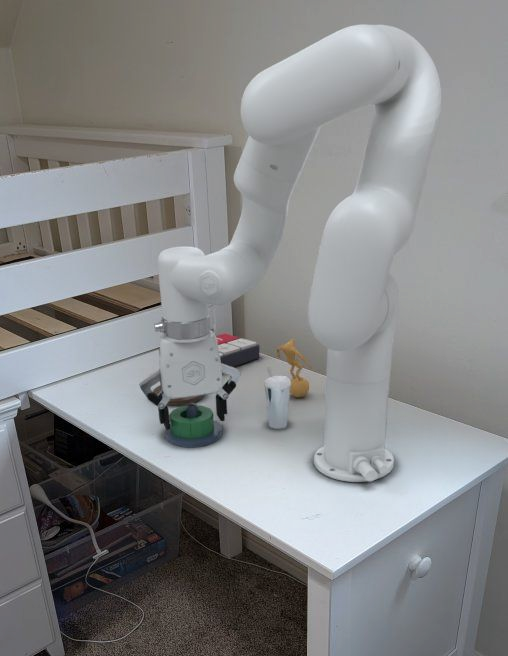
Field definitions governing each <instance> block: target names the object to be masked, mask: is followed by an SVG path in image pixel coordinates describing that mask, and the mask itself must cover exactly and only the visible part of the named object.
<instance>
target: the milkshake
mask: <svg viewBox="0 0 508 656" xmlns="http://www.w3.org/2000/svg"><path fill="white" fill-rule="evenodd" d="M267 369H268V374H269V377H268V378H266V380H265V381H264V392H265V401H266V408H267V409H266V411H267V420H268V427H269V428H271V429H275V430H283V429H284V428H286V427H287V426H288V418H289V406H290V405H289V404H290V396H291V393H290V387H291V379H290V378H288V376H287V375H275V376H273V374H272V369H271V367H270V366H268V367H267Z"/></svg>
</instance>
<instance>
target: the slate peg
mask: <svg viewBox="0 0 508 656" xmlns="http://www.w3.org/2000/svg"><path fill="white" fill-rule="evenodd" d="M197 405H198V404H197V403H196V402H195V403H189V404H188V405H186V406H187V407H186V413H187V418H189V419H192V418H197V417H198V407H197ZM164 429H165V430H164V438H165V440H166V441H167V442H168V443H169V444H171V445H174V446H176V447H180V448H200V447H206V446H209V445H212V444H214V443H216V442H217V441H220V439H221V438H222V436H223V427H222V425H221V423H220V422H219V421H216V420H214V429H213V431H212V432H211V433H210V434H208V435H206V436H204V437H201V438H195V439H186V438H179V437H177V436H175V435H173V434H172V432H171V430H170V429H169V430H166V428H164Z"/></svg>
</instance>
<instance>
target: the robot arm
mask: <svg viewBox="0 0 508 656" xmlns="http://www.w3.org/2000/svg"><path fill="white" fill-rule="evenodd" d="M442 98H443V96H442V86H441V81H440V76H439V73H438V69H437V67H436V65H435V63H434V61H433V59H432V57H431V55H430V53H428V50H426V48H424V46H423V45H422V44H421V42H419V40H417V39H416V38H415V37H413V36H412V35H411V34H410V33H408V32H407V31H405V30H403V29H401V28H398V27H397V26H396V27H395V26H392V25H387V24H366V23H365V24H363V23H361V24H360V23H359V24H355V25H350V26H346V27H343V28H341V29H340V30H337V31H335V32H333V33H331V34H329V35H328V36H325V37H323V38H322V39H320V40H318V41H316V42H315V43H312V44H311V45H308V46H306V47H305V48H303V49H301V50H300V51H297V52H296V53H294V54H292V55H290V56H289V57H287V58H284V59H283V60H281V61H279V62H277V63H275V64H273V65H271V66H269V67H266V68H265V69H263V70H262V71H260V72H259V73H257V74H256V75H255V76H254V77H253V78H252V79H251V80H250V82H249V83H248V84H247V86H246V87H245V90H244V91H243V95H242V97H241V102H240V119H241V122H242V126H243V129H244V130H245V132H246V133H247V135H248V138H247V140H246V142H245V145H244V147H243V150H242V153H241V155H240V158H239V160H238V163H237V166H236V168H235V170H234V173H233V183H234V186H235V187H236V189H237V190H238V191H239V193H240V194H241V197H242V208H241V214H240V218H239V220H238V223H237V225H236V228H235V230H234V232H233V235H232V239H231V240H230V242H229V244H228V245H227V246H225V247H223V248H221V249H219V250H217V251H215V252H212V253H209V254H206V255H205V253H204V252H203V250H202V249H200V248H198V247H195V246H190V245H189V246H187V245H185V246H184V245H183V246H172V247H168V248H166V249H163V250H161V252H160V253H159V254H158V257H157V273H158V283H159V294H160V305H161V319H160V321H159V322H157V323H153V326H154V332H155V333H158V332H159V333H162V334H161V335H160V339H159V348H158V349H159V350H158V370H157V371H155V372H154V373H153V374H151V375H150V376H148V377H147V378H145V379H144V380H142V381H140V382H139V384H138V385H139V389H140V390H141V391H142V393H143V394H144V395H145V397H146V398H147V400H148V402H149V401H150V402H151V403H152V404H153V405H155V406H157V410H158V420H159V424H160V425H163V426H164V429H166V430H169V429H170V418H169V414H170V410H169V406H168V405H167V403H168V402H169V400H170V399H178V398H186V397H193V396H199V395H204V396H206V395H212V394H215V393H216V395H215V411H216V416H217V419H218V420H219V421H221V422H225V421H226V419H225V418H226V416H225V415H227V414H228V399H229V396H230V395H231V393H232V392H233V391H234V390H235V389H236V387H237V384H238V382H239V380H240V377H241V375H242V372H241V371H240V370H239V368H236V367H231V366H228V365H225V364H222V363H221V360H220V354H219V348H218V343H217V339H216V336H217V335H216V333H215V332H214V331H213V330H211V323H210V308H209V305H211V306H218V307H219V306H226V305H228V304H231V303H232V302H234V301H236V300H237V299H238V298H240V297H242V296H243V295H244V294H246V293H247V292H249V291H251V290H252V289H254V288H255V287H257V286H258V285H260V283H261V282H262V280H263V279H264V278H265V275H266V274H267V273H268V270H269V268H270V267H271V264H272V263H273V262H272V261H273V259H274V257H275V255H276V252H277V251H278V249H279V246H280V243H281V240H282V238H283V236H284V232H285V227H286V222H287V218H288V213H289V202H290V200H291V196H292V195H293V192H294V189H295V188H296V184H297V182H298V180H299V177H300V176H301V174H302V171H303V169H304V166H305V164H306V162H307V159H308V157H309V155H310V152H311V150H312V149H313V146H314V143H315V141H316V139H317V137H318V134H319V132H320V130H321V128H322V126H324V125H327V124H329V123H332V122H334V121H336V120H339V119H340V118H342V117H345V116H347V115H348V114H351V113H353V112H355V111H358V110H361V109H363V108H367V107H369V106H373V120H372V124H371V127H370V130H369V134H368V136H367V139H366V142H365V145H364V150H363V155H362V161H361V165H360V169H359V173H358V177H357V181H356V185H355V187H354V191H353V193H352V194H351V195H349V196H347V197H346V198H344V199H343V200H341V201H340V202H339V204H338V203H337V205H336V206H335V208H334V209H333V210H332V212H331V213H330V215H329V216H328V219H327V221H326V223H325V225H324V229H323V231H322V235H321V238H320V239H321V240H320V244H319V248H318V253H317V259H316V264H315V268H314V272H313V276H312V277H313V278H312V283H311V286H310V291H309V296H308V297H309V298H308V302H307V303H308V304H307V322H308V326H309V329H310V331H311V333H312V335H313V337H314V338H315V340H316V341H317V342H318V343H319V344H320V345H322V346H323V347H325V348H327V351H326V370H325V399H324V400H325V401H324V402H325V405H324V406H325V407H324V441H323V445H322V446H321V447H319V448H318V449H316V451H315V453H314V455H313V456H314V457H313V458H314V459H313V464H314V466H315V469H317V471H319V472H320V473H321V474H323V475H324V476H327V477H329V478H331V479H334V480H337V481H342V482H350V483H362V482H368V483H369V482H370V483H371V482H373V481H374V482H375V480H378V479H382V478H383V477H385V476H387V475H388V474H389V473H391V471H392V470H394V469H393V468H394V465H395V458H394V455H393V454H392V452H391V451H390V450H389V449H387V448H386V439H387V424H388V411H389V398H390V385H391V373H392V361H393V359H392V358H393V348H394V342H395V341H394V340H395V333H396V327H397V321H398V316H399V310H400V290H399V285H398V283H397V280H396V278H395V275H394V274H393V273H392V272H391V271H390V270H391V267H392V263H393V261H394V257H395V256H396V255H398V254H399V253H400V252H401V251H402V250H403V249H404V248H405V247H406V245H407V244H408V243H409V241H410V239H411V236H412V234H413V232H414V228H415V222H416V219H417V214H418V210H419V206H420V202H421V198H422V194H423V190H424V187H425V184H426V183H425V182H426V180H427V175H428V171H429V166H430V162H431V159H432V158H431V157H432V154H433V150H434V146H435V143H436V138H437V134H438V131H439V125H440V119H441V113H442V101H443V100H442ZM223 374H225V375H228V376H229V379H227V381H226V382H225V383H224V378H223ZM158 383H159V386H160V385H161V388H162V390H161V391H160V393H159V394H158V395H156V394H155V393H154V392H153V390H152V387H153V386H155V385H157V384H158Z"/></svg>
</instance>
